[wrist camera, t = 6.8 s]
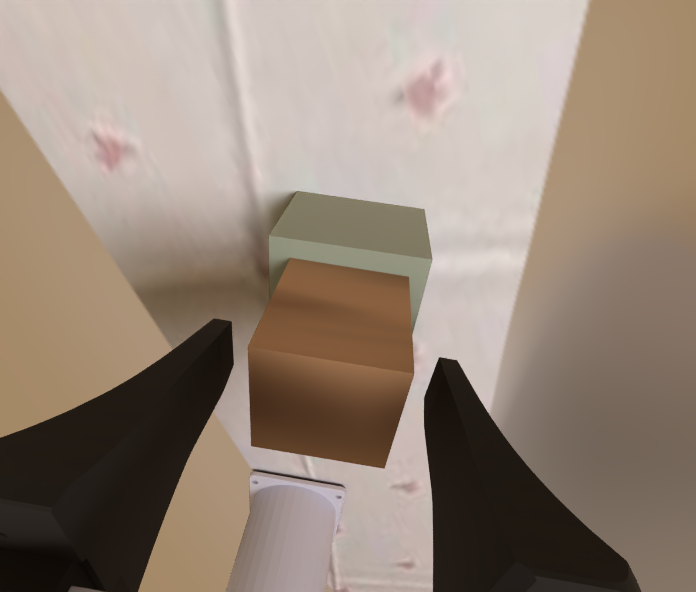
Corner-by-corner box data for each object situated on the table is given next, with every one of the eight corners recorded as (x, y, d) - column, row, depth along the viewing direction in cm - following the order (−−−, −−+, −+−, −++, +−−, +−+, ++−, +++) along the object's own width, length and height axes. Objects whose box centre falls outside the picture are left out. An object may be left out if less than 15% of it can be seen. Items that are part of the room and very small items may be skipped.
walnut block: (387, 362, 17) (384, 468, 13) (286, 346, 17) (251, 446, 13) (409, 276, 14) (414, 373, 10) (290, 257, 14) (247, 346, 10)
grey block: (400, 310, 21) (401, 375, 17) (294, 294, 21) (270, 355, 17) (424, 208, 18) (432, 259, 14) (297, 190, 18) (268, 235, 14)
